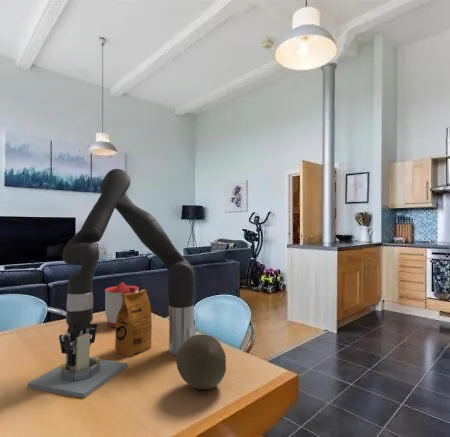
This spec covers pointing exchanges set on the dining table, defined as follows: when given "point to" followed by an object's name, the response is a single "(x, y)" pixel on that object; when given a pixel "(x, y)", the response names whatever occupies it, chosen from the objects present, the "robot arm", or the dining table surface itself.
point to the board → (77, 388)
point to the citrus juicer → (116, 300)
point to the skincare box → (80, 353)
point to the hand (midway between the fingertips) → (78, 362)
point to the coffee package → (133, 324)
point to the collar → (81, 371)
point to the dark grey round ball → (201, 361)
